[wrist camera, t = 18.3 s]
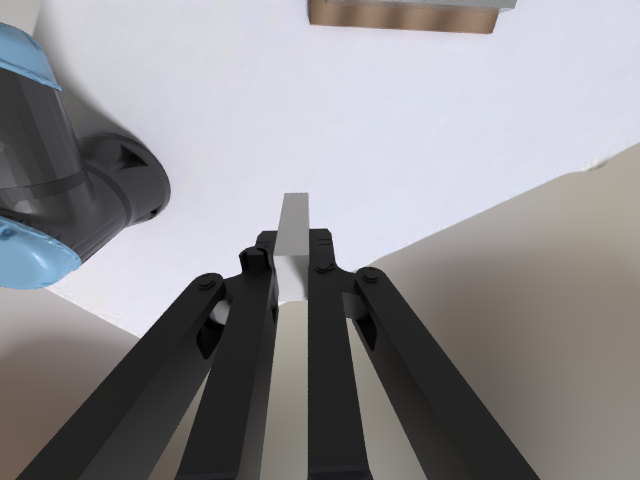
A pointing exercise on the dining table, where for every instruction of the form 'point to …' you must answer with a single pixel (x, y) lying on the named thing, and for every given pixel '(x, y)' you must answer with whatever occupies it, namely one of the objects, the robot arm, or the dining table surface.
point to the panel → (400, 18)
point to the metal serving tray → (436, 4)
